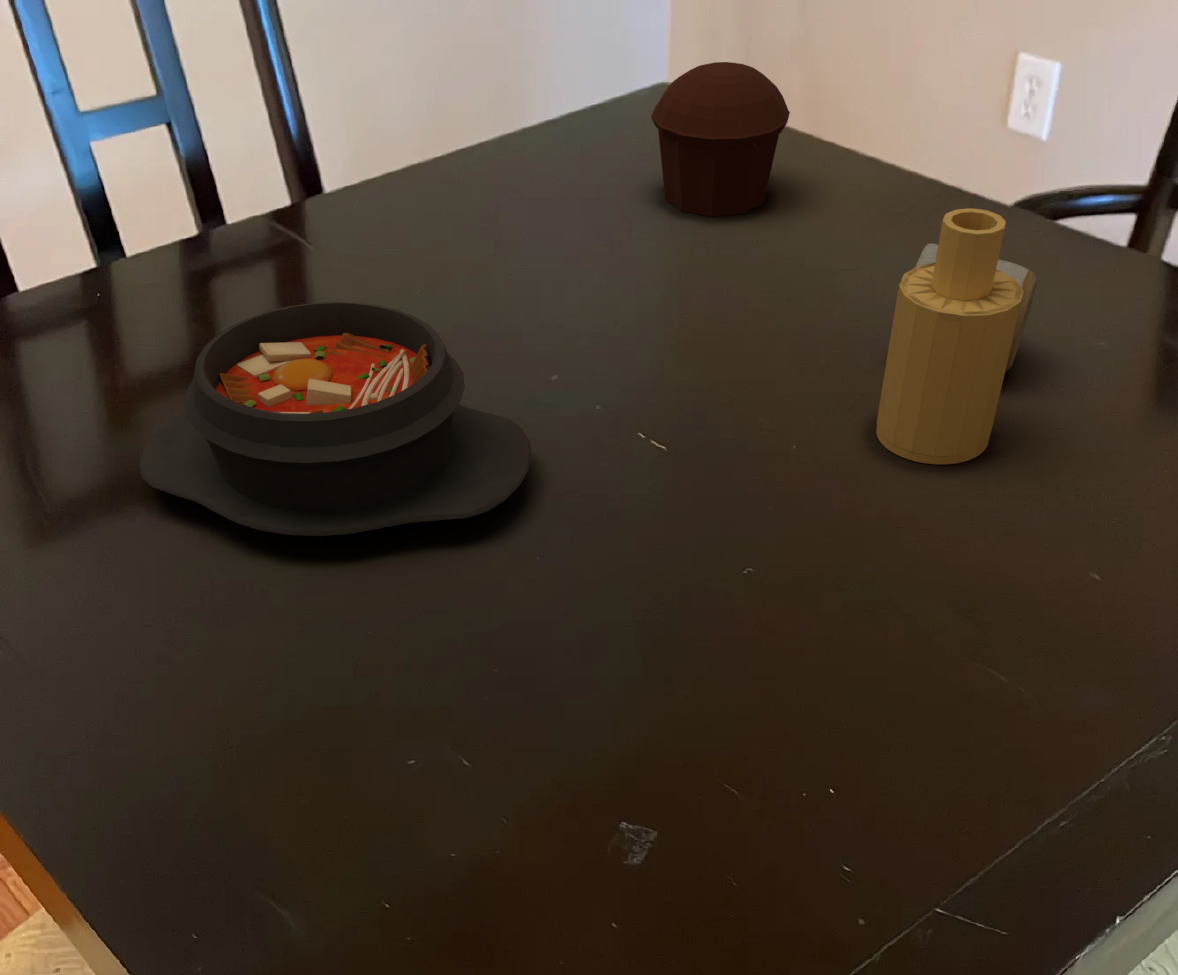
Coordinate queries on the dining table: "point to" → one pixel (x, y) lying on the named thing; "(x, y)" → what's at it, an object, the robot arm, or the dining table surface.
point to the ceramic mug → (1016, 272)
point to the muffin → (719, 138)
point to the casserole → (333, 426)
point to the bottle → (950, 345)
